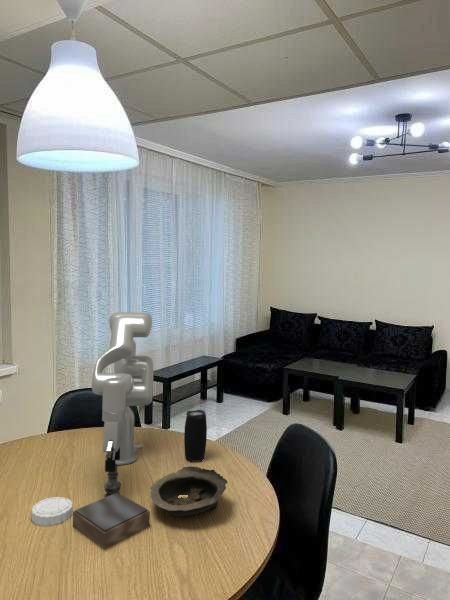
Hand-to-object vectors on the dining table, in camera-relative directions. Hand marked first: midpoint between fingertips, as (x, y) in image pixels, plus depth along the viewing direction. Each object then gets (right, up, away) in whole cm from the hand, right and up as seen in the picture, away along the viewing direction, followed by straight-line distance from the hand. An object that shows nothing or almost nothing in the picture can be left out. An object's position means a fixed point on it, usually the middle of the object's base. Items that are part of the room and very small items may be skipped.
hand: (112, 465), depth 150 cm
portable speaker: (+25, -10, +33) cm, 43 cm away
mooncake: (-16, -11, -12) cm, 23 cm away
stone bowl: (+26, -12, -5) cm, 29 cm away
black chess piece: (0, -11, +1) cm, 11 cm away
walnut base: (+4, -12, -17) cm, 21 cm away
